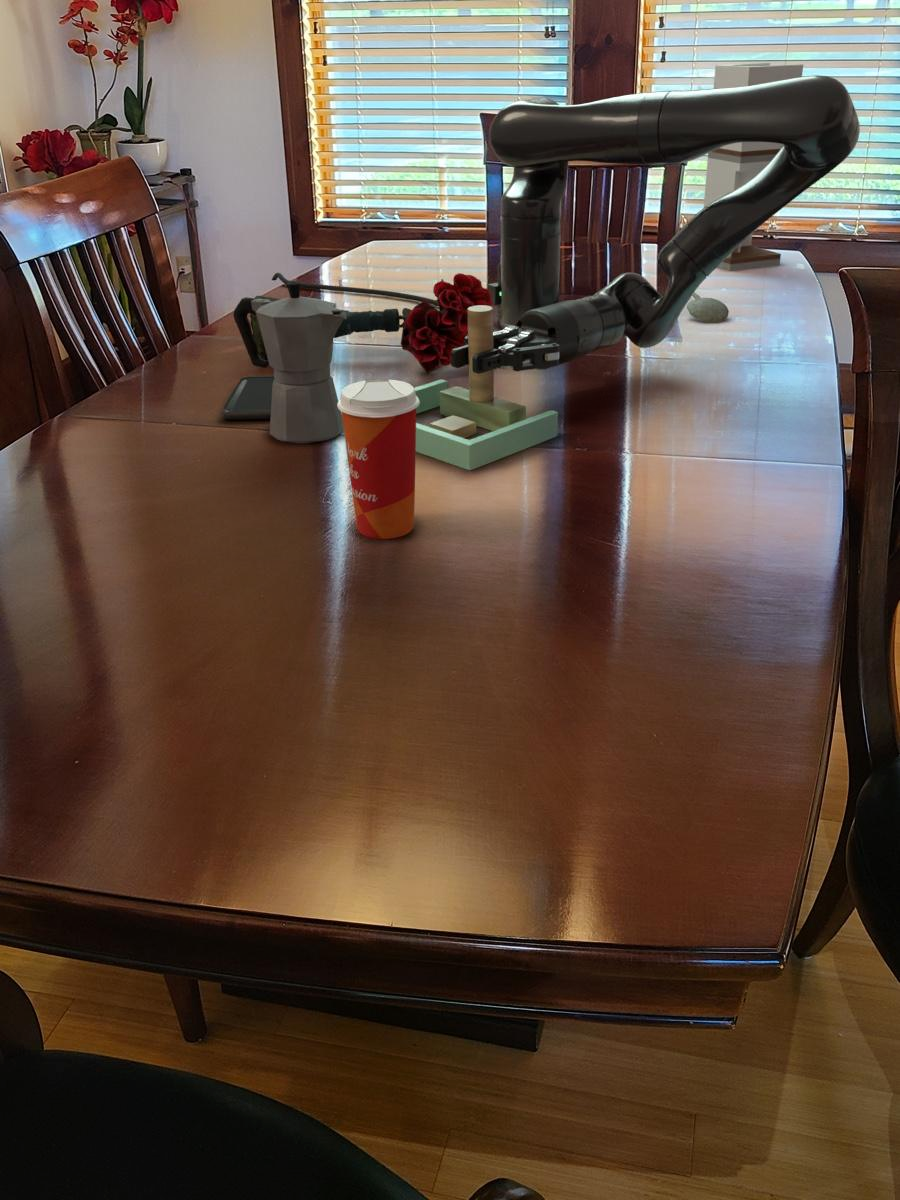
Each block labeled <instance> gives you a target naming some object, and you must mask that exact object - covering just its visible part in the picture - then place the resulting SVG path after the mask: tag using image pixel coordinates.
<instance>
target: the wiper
mask: <svg viewBox="0 0 900 1200" xmlns="http://www.w3.org/2000/svg"><path fill="white" fill-rule="evenodd" d="M467 311H468V356H469V365H468V388H465V387H461V386H457V385H455V386H452V387H448V389H446V390H443V391H440V392H439V395H440V406H439V414H440V415H442V416H444V417H449V416H452V415H454V416H457V417H461V418H464V419H467V420H470V421H473V422H476V427H479V428H482V429H485V430H489V431H490V432H493V431H495V430H498V429H501V428H503V427H506V426H509V425H512V424H514V423H517V422H520V421H522V420H525V419H527V406H526V405H522V404H519V403H516V402H512V401H509V400H506V399H502V398H499V397H495V369H493V370H490V371H487V372H484V373H481V374H477V373H474V372H473V370H472V358H473V356H474V355H475V354H478V353H481V352H485V351H488V350H492V349H493V332H494V308H493V306H491V307H490V306H485V305H477V306H471V307H469V308H468V309H467Z"/></svg>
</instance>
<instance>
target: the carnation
mask: <svg viewBox="0 0 900 1200" xmlns="http://www.w3.org/2000/svg"><path fill="white" fill-rule="evenodd" d="M452 282H453V284H452V283H450V282H447V281H444V279H443V278H441V280H440V281H437V282H436V283H435V284H434V285H433V290H432V293H433V294H434V296H435V298H437V299H434V300H435V301H438V305H439V306H438V308H439V310H438V309H437V308H436V307H435V306H434V305H432V304H429V303H427V301H426V302H419V303H418V304H417V305H415V306H414V307H413V308H412V309H411V308H407V307H403V309H402V311H401V314H400V312H399V309H398V308H385V309H384V310H383V311H382V310H375V311H373V310H371V309H369V310H367V311H365V310H363V311H358V310H357V311H350V310H347V309H346V310H345V309H341V310H342V312H346V315H347V319H345V320H343V321H342V323H341V324H340V326H339V328H338V330H337V332H336V334H335V336H334V339H338V338H341V337H344V336H350V335H352V334H353V333H370V332H374V331H384V332H386V333H395V332H399V331H400V328H402V332H401V339H400V345H401V349H402V350H404V351H407V352H408V353H410V354H411V355H412V356H413V357H414V358H415V359H416V360H417V362H418V364H419V365H420V367H421V368H422V370H423V371H424V372H425V373H430V372H431V371H434V370H435V369H436V368H438V367H439V366H440V365H441V366H444V367H447V366H451V351H452V350H453V349H455V348H458V347H462V346H465V337H466V336H467V335H468V311H467V309H468V308H469V307H471V306H477V305H485V306H490V307H493V304H492V300H491V294H490V292H489V290H488V288H485V287H483V285H482V281H481V280H480V279H478V277H476V276H474V275H472V274H464V273H460V272H459V273H456V274H454V276H453V279H452ZM253 298H254V299H268V300H270V301H271V302H274V301H277V300H281V299H279V298H276V297H271V296H264V295H261V294H260V295H256V296H254V297H253ZM249 317H250V326H251V330H252V335H253V337H254V339H255V341H256V343H257V347H258V354H259V357H260V358H261V359H267V358H268V357H267V353H266V350H265V346H264V342H263V338H262V334H261V330H260V326H259V322H258V318H257V316H256V315H253V314H250V313H249ZM400 320H403V321H402V322H401V321H400Z"/></svg>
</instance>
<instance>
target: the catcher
mask: <svg viewBox="0 0 900 1200" xmlns="http://www.w3.org/2000/svg"><path fill="white" fill-rule="evenodd" d="M448 381H449V380H445V379H442V378H441V379H438V380H435V381H431V382H429V383H424V384H421V385H419V386H415V387H413V388H414V390H415V394H416V396H417V397H418V399H419V401H420V404H419V406H418V407H417V408H416V415H417V414H420V413H423V412H426V411H428V410H433V409H435V408H438V407H440V395H439V392H440V391H443V390H446V389H449V383H448ZM558 431H559V412H558V411H555V410H552V409H550V410H547V411H544V412H541V413H539V414H536V415H533V416H531V417H527V418H526V419H525V420H522V421H520V422H517V423H514V424H512V425H509V426H506V427H503V428H501V429H498V430H495V431H490V432H487V433H484V434H482V435H479V436H477V437H474V438H471V439H468V438H461V437H458V436H455V435H452V434H449V433H446V432H443V431H440V430H437V429H434V428H430V426H427V425H424V424H421V423H419V422H416V453H419V454H420V455H421V454H422V455H424V456H428V457H430V458H433V459H435V460H437V461H438V460H439V461H441V462H444V463H447V464H450V465H452V466H455V467H458V468H461V469H464V470H467V471H472V470H476V469H478V468H480V467H483V466H486V465H488V464H490V463H494V462H495V461H499V460H500V459H504V458H505V457H508V456H510V455H513V454H516V453H519V452H521V451H524V450H526V449H528V448H531V447H534V446H536V445H539V444H542V443H544V442H546V441H548V440H551V439H554V438H556V437H558V435H559V434H558V433H559V432H558Z"/></svg>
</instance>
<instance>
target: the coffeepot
mask: <svg viewBox="0 0 900 1200" xmlns="http://www.w3.org/2000/svg"><path fill="white" fill-rule="evenodd" d="M290 281H291V282H288V283H287V285H286V287H287V290H288V294H289V297H286V298H282V299H280V300H277V301H274V302H271V301H270V300H268V299H254V298H255V297H248V296H247V297H243V298H241V299H240V301H239V302H238V303H237V305H236V307H235V308H234V310H233V314H232V315H233V320H234V322H235V324H236V326H237V329H238V332H239V334H240V336H241V339H242V342H243V344H244V347H245V349H246V351H247V354H248V356H249V359H250V361H251V363H252V365H253V366H255V367H258V368H264V369H265V368H268V367H271V368H272V369H273V376H274V378H275V379H274V382H273V386H272V402H271V419H269V420H270V421H269V435H270V436H272V437H273V438H274V439H275V440H277V441H280V442H283V443H288V444H289V443H290V444H313V443H320V442H325V441H329V440H331V439H333V438H336V437H337V436H339V435H341V434H342V432H343V429H344V427H343V420H342V412H341V411H340V410H339V409H338V407H337V404H338V402H339V397H338V393H337V390H336V386H335V382H334V378H333V376H332V375H331V363H332V361H333V354H334V339H335V338H334V336H335V334H336V332H337V330H338V328H339V326H340V324H341V323H342V321H343V320H345V319H347V315H346V312H342V310H343V309H339V308H337V306H336V305H337V304H336V302H332V301H327V300H323V299H320V298H314V297H308V296H307V297H306V296H300V295H301V288H302V287H301V283H302V282H300V281H297V280H290ZM250 314H253V315H256V316H257V318H258V322H259V326H260V330H261V334H262V338H263V342H264V346H265V350H266V353H267V357H266V358H267V359H265V358H261V357H260V356H259V354H258V347H257V343H256V341H255V339H254V337H253V330H252V327H251V321H250V320H249V317H248V315H250Z"/></svg>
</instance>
